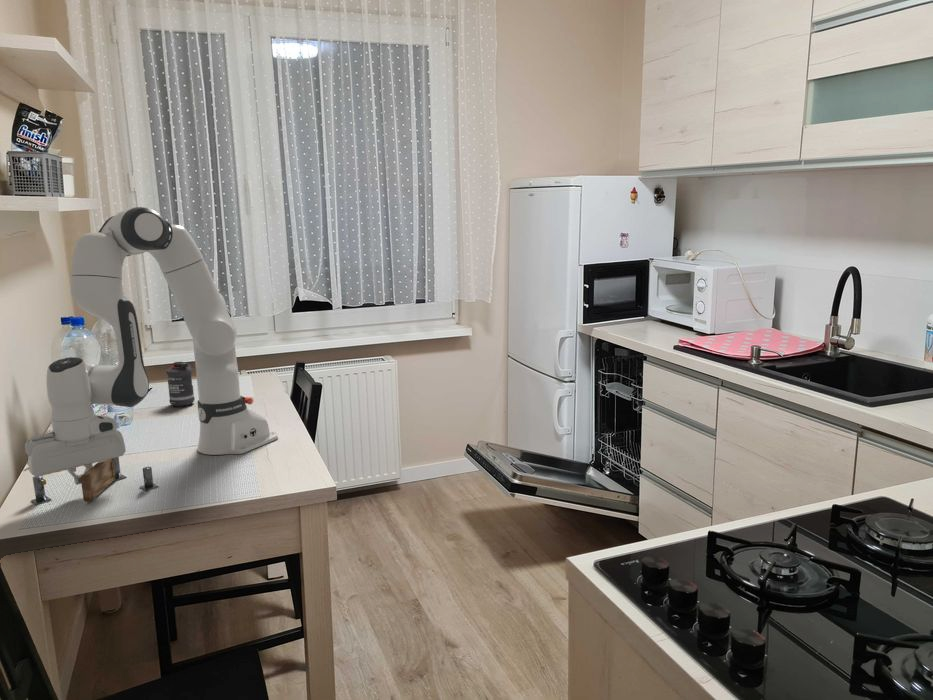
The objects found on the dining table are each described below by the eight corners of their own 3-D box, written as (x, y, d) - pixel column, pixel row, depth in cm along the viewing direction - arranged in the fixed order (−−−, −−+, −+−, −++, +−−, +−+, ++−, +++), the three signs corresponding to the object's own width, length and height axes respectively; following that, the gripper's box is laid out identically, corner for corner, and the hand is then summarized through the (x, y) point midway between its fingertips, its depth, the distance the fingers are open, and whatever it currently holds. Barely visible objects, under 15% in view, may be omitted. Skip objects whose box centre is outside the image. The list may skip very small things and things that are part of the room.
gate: (109, 478, 174) (106, 455, 173) (116, 478, 174) (113, 455, 173) (83, 501, 161) (80, 476, 160) (90, 501, 161) (87, 476, 160)
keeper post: (152, 483, 172) (150, 464, 171) (158, 486, 170) (156, 467, 169) (139, 487, 170) (137, 468, 169) (145, 491, 168) (143, 471, 167)
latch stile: (45, 496, 165) (42, 473, 164) (51, 500, 163) (47, 476, 162) (31, 501, 163) (27, 477, 162) (36, 504, 161) (32, 480, 160)
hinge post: (119, 474, 179) (115, 441, 177) (126, 477, 176) (122, 444, 175) (105, 478, 176) (101, 445, 174) (111, 482, 174) (107, 448, 172)
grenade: (200, 403, 242) (196, 361, 239) (181, 409, 235) (177, 366, 232) (183, 400, 246) (179, 359, 243) (164, 406, 239) (160, 363, 236)
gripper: (26, 441, 153) (35, 499, 156) (124, 420, 167) (130, 474, 170) (20, 435, 158) (28, 491, 161) (115, 415, 172) (122, 467, 175)
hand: (82, 482), depth 166 cm, fingers closed
